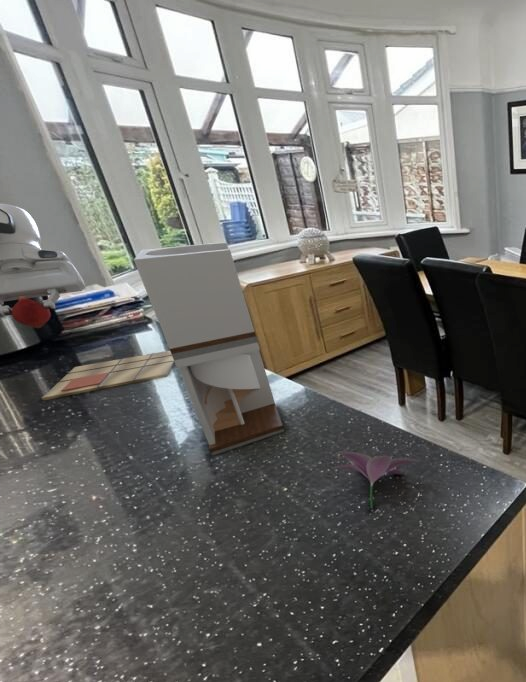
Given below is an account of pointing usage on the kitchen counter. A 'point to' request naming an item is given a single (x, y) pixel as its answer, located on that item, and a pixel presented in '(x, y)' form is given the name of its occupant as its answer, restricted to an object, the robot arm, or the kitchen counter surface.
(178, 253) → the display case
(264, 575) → the kitchen counter surface
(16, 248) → the robot arm
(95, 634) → the kitchen counter surface
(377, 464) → the lily
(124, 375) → the grid board
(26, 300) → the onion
